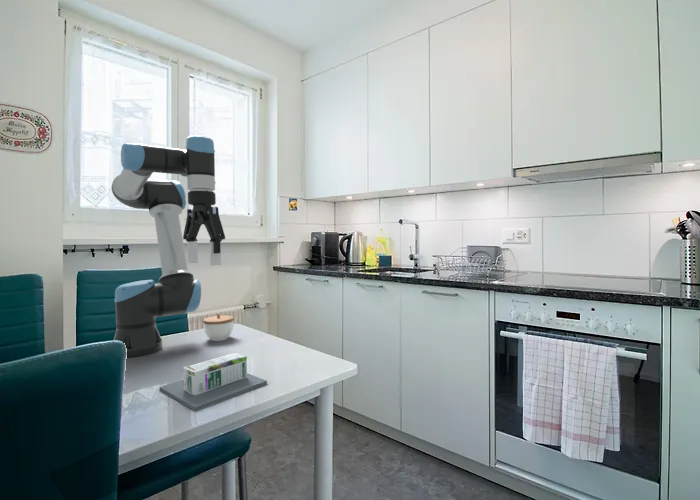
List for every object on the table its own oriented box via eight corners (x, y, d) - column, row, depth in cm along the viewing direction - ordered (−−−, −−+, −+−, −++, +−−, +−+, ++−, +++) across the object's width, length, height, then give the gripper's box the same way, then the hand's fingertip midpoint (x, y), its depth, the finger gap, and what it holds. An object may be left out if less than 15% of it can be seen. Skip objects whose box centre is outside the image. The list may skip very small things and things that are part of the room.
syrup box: (248, 377, 98) (194, 396, 86) (235, 372, 101) (182, 390, 90) (247, 356, 97) (194, 372, 86) (234, 352, 101) (181, 367, 90)
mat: (159, 390, 93) (159, 386, 93) (228, 368, 107) (228, 365, 107) (194, 411, 81) (194, 407, 81) (266, 383, 95) (266, 380, 95)
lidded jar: (240, 336, 142) (239, 312, 142) (219, 344, 133) (218, 317, 132) (219, 334, 147) (218, 310, 147) (197, 341, 137) (196, 315, 137)
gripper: (236, 188, 104) (238, 265, 105) (193, 195, 120) (195, 261, 121) (211, 186, 98) (213, 267, 99) (169, 193, 114) (172, 262, 115)
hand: (203, 264), depth 110 cm, fingers open, 13 cm apart
